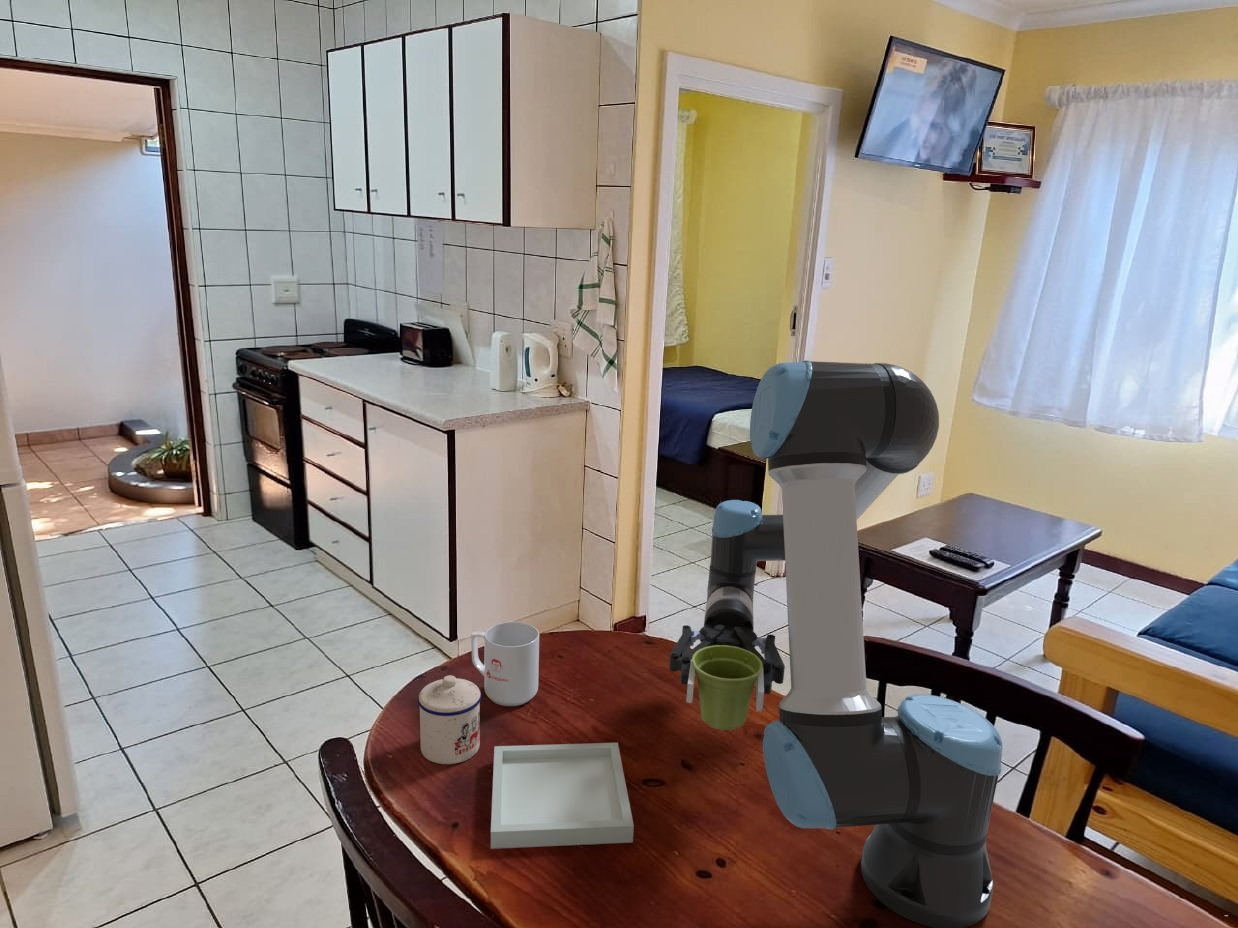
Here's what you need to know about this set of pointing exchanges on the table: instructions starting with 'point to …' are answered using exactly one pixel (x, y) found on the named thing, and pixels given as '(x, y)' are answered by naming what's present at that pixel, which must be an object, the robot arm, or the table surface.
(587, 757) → the tray
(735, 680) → the plant pot
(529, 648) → the mug
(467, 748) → the teacup with lid
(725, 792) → the table surface
